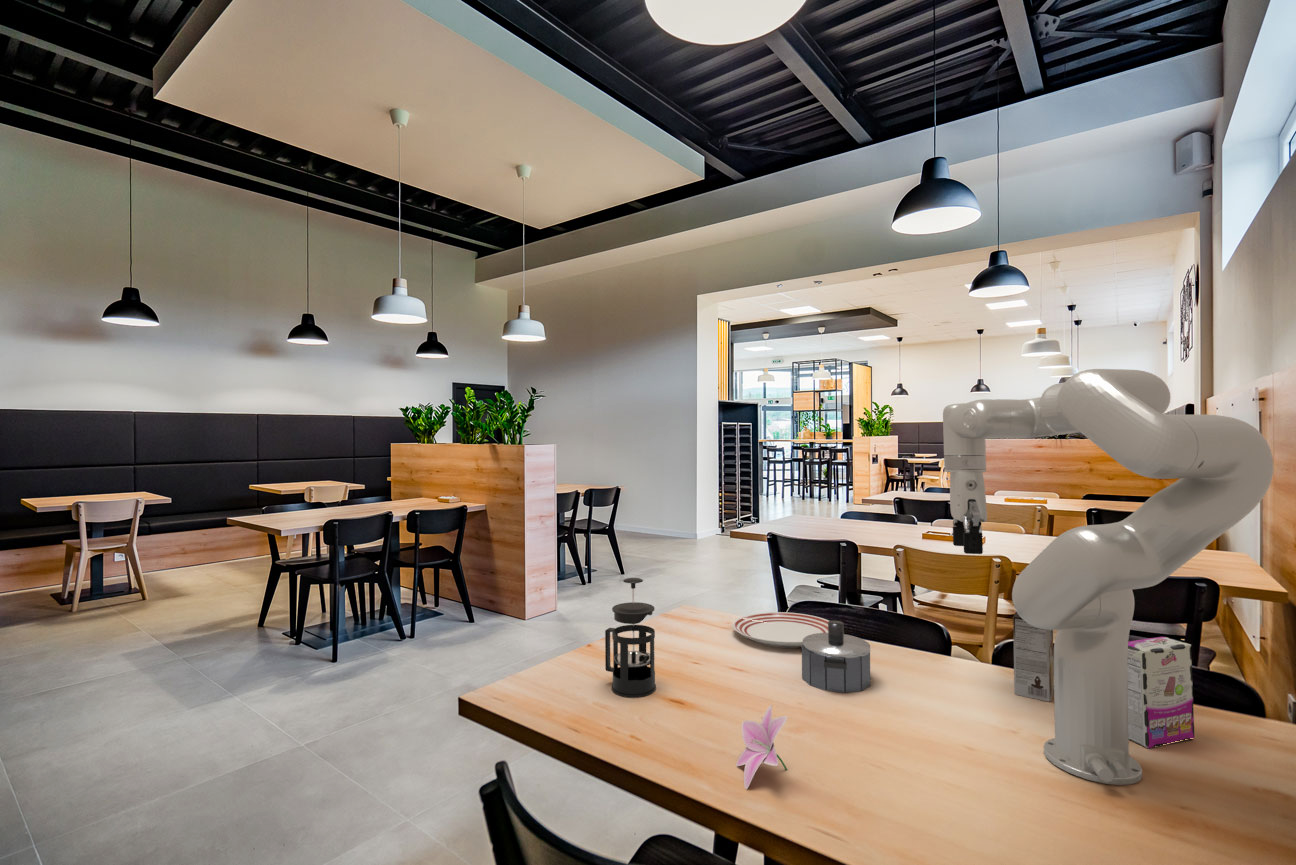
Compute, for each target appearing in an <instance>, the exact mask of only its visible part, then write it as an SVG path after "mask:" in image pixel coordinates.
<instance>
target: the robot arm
mask: <svg viewBox="0 0 1296 865" xmlns="http://www.w3.org/2000/svg"><path fill="white" fill-rule="evenodd" d="M1170 403H1171V392H1170V389H1169V387H1168V385H1167V383H1166V382H1165V381H1164V380H1163V379H1162V378H1160V377H1159V376H1157V375H1156V374H1153V373H1152V372H1150V371H1149V372H1147V371H1145V370H1138V369H1121V368H1117V369H1116V368H1115V369H1114V368H1113V369H1111V368H1092V369H1085V370H1082V371H1079V372H1076V373H1075V374H1073V375H1072V376H1070V377H1069V378H1068V379H1067V380H1066V381H1064V382H1059V383H1056V384H1055V383H1054V384H1052V385H1050V386H1048V387H1047V388H1046V389H1045V390H1044V391H1043V393H1042V394H1041V396H1039V397H1034V398H1027V399H1002V398H1001V399H985V398H984V399H975V400H972V401H969V402H964V403H962V402H961V403H954V404H948V405H946V406H944V408H943V411H942V423H943V424H942V426H943V428H942V429H943V430H942V432H943V456H944V457H943V461H944V462H943V464H944V465H943V467H944V469H943V470H944V472H945V473H946V472H947V473H949V502H950V503H949V505H950V506H949V507H950V514H951V517H952V518H953V520H952V544H953V546H955V547H963V553H964V554H967V555H968V554H969V555H982V554H983V552H984V549H983V548H984V546H983V528H982V523H985V522H987V521H988V512H987V497H986V487H985V478H984V474H983V473H985V472H987V455H986V454H987V451H986V449H987V448H986V440H997V439H998V440H999V439H1002V440H1003V439H1004V440H1005V439H1008V440H1009V439H1017V440H1018V439H1020V440H1021V439H1033V438H1041V437H1043V438H1044V437H1050V436H1058V435H1059V436H1060V435H1062V436H1063V435H1068V434H1076V433H1080V434H1082V435H1083V436H1085V438H1087V439H1088V440H1089V441H1091V442H1092V443H1093V444H1095V445H1096V446H1097V447H1098V448H1099V449H1101V450H1102V451H1103V452H1105V453H1106V454H1107V455H1108V456H1109V457H1110V458H1112V459H1113V460H1114V461H1116V462H1117V463H1118V464H1120V465H1121V466H1122V467H1124V468H1125V469H1127V470H1128V471H1130V472H1132V473H1134V474H1136V475H1138V476H1142V477H1146V478H1149V479H1158V480H1167V479H1169V480H1171V479H1172V480H1173V479H1178V480H1176V481H1175V482H1173V483H1171V484H1169V485H1168V486H1167V487H1166V486H1165V488H1162V489H1160V490H1159V491H1158V492H1156V493H1154V494H1153V495H1152V496H1150V497H1149V498H1148V499H1147V500H1145V501H1144V503H1143V504H1142V505H1140V506H1139V507H1138V508H1137V509H1136V510H1135V511H1134V512H1132V513H1131V514H1130V515H1128V516H1127V517H1126V518H1124V519H1123V520H1120V521H1118V522H1117V521H1116V522H1112V523H1104V524H1090V525H1089V524H1087V525H1081V526H1077V527H1073V528H1070V529H1068V530H1066V531H1065V532H1063V533H1060V535H1058V536H1057V537H1055V539H1053V540H1052V541H1051V542H1050V543H1049V544H1048V545H1047V546H1046V547H1045V548H1044V549H1043V550H1042V551H1041V552H1040V553H1038V555H1037V556H1036V557H1035V558H1034V559H1033V560H1031V561H1030V562H1029V563H1028V565H1026V567H1025V568H1024V569H1023V570H1021V572H1020V573H1019V574H1018V576H1017V577H1016V579H1015V581H1014V584H1013V587H1012V592H1011V599H1012V604H1013V607H1014V609H1015V612H1016V611H1017V613H1018V614H1019V616H1020V617H1021V618H1022V619H1023V620H1024V621H1026V622H1027V623H1028V624H1030V625H1032V626H1034V627H1036V628H1040V629H1044V630H1053V631H1056V636H1055V639H1054V642H1053V659H1054V689H1053V693H1054V694H1053V695H1054V697H1053V698H1054V701H1053V702H1054V705H1053V707H1054V737H1053V738H1050V739H1048V740H1046V741H1045V742H1044V743H1043V754H1044V755H1045V757H1046V759H1048V761H1049V762H1050V763H1051V764H1053V766H1056V767H1058V768H1059V769H1061V770H1063V771H1065V772H1066V773H1069V774H1071V775H1074V776H1076V777H1078V778H1079V777H1080V778H1082V779H1085V780H1087V781H1092V782H1095V783H1100V784H1105V785H1113V786H1114V785H1116V786H1124V785H1132V784H1137V783H1138V782H1140V781H1141V780H1142V778H1143V769H1142V768H1143V767H1142V766H1141V765H1140V763H1139V762H1138V761H1137V760H1136V759H1134V757H1132V756H1130V752H1129V750H1130V747H1129V746H1130V745H1129V744H1130V743H1129V741H1130V740H1129V738H1128V680H1127V673H1128V642H1129V639H1130V638H1129V637H1130V633H1131V632H1130V631H1131V626H1132V621H1133V617H1134V613H1135V612H1134V611H1135V596H1134V592H1133V590H1139V589H1145V588H1150V587H1154V586H1156V585H1158V584H1160V583H1162V582H1163V581H1165V580H1166V579H1167V578H1168V577H1170V575H1173V573H1175V572H1176V571H1177V570H1179V568H1181V567H1182V566H1183V565H1185V564H1186V563H1187V562H1189V561H1190V560H1191V559H1193V558H1194V557H1196V556H1197V555H1198V554H1199V553H1201V552H1202V551H1203V550H1205V548H1207V547H1208V546H1209V545H1210V544H1211V543H1212V542H1214V541H1215V540H1216V539H1218V538H1219V537H1220V536H1222V535H1224V534H1225V533H1226V532H1227V531H1229V530H1230V529H1232V528H1233V527H1234V526H1236V524H1239V522H1240V521H1242V520H1243V519H1244V518H1246V517H1247V516H1248V515H1249V514H1250V513H1251V512H1252V511H1253V510H1254V509H1255V508H1256V507H1257V506H1258V504H1260V502H1261V501H1262V500H1263V498H1264V497H1265V495H1266V494H1267V492H1268V490H1269V488H1270V485H1271V482H1272V479H1273V476H1274V475H1273V474H1274V460H1273V459H1274V458H1273V453H1272V450H1271V447H1270V445H1269V443H1268V441H1267V440H1266V438H1265V437H1264V435H1263V434H1262V432H1260V431H1259V430H1258V429H1257V428H1256V427H1254V426H1253V425H1251V424H1249V423H1248V422H1246V421H1244V420H1240V419H1238V418H1234V417H1231V416H1225V415H1219V414H1218V415H1217V414H1165V413H1166V411H1167V410H1168V408H1169V406H1170Z"/></svg>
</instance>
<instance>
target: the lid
mask: <svg viewBox="0 0 1296 865" xmlns="http://www.w3.org/2000/svg"><path fill="white" fill-rule="evenodd" d="M844 628H845V627H844V622H843V621H841V620H829V622H828V633H816V634H811V635H808V636H806V637H804V639H803V647H804V648H805V649H806V650H808V651H810V652H812V653H815V654H818V655H821V656H826V657H832V658H845V659H847V658H859V657H863V656H866V655H867V654H869V653H870V654H871V644H870V643H869V642H868V641H866V640H865V639H863V638H861V637H857V636H853V635H850V634H845V632H844V630H845V629H844Z"/></svg>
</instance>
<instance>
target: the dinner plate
mask: <svg viewBox="0 0 1296 865" xmlns="http://www.w3.org/2000/svg"><path fill="white" fill-rule="evenodd" d="M743 618H746V619H743ZM747 619H752V620H758V621H763V622H756V621H752V620H747ZM829 621H830V620H829V619H825V618H823V617H819V616H815V615H810V614H805V613H799V612H798V613H796V612H787V611H786V612H785V611H784V612H783V611H782V612H781V611H776V612H775V611H773V612H758V613H751V614H747V615H744V616H740V617H739V618H737V619H735V620H734V621H733V622H732V626H731V627H732V629H733V630H734V631H735V632H737V633H738V634H739V635H741V636H742V637H745V638H746V639H749V640H751V641H754V642H757V643H759V644H762V645H766V646H769V647H777V648H783V649H784V648H791V649H794V648H802V642H803V639H804V637H806V636H808V635H811V634H816V633H828V622H829ZM764 622H767V623H764ZM769 623H775V624H769Z"/></svg>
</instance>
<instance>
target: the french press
mask: <svg viewBox="0 0 1296 865" xmlns="http://www.w3.org/2000/svg"><path fill="white" fill-rule="evenodd" d="M643 581H644V579H642V578H640V577H628V578H624V579H623V581H622V582H623V583H626V584H630V589H632V590H631V591H632V592H631V593H632V602H624V603H618V604H615V605H614V606H612V608H611V609H612V610H611V611H612V613H614V614H613V615H614V620H615V622H618V623H622V624H625V625H619V626H617V627H608V628H607V629H605V630H604V635H605V637H604V639H605V640H604V643H605V646H604V648H605V650H604V652H605V653H604V656H605V657H604V658H605V659H604V660H605V662H604V664H605V671H606V672H609V673H610V672H611V673H612V685H611V691H612V692H613V693H614V694H615V695H617V696H619V697H624V698H632V699H633V698H635V699H637V698H644V697H648V696H650V695H652V694H654V693H655V692H656V690H657V684H656V671H655V637H656V634H655V633H656V631H655V629H654V628H653V627H651V626H649V625H644V624H640V623H641V622H642V621H644V620H645V619H646V617H647V616H652V615H653V612H655V606H654V605H652V604H649V603H646V602H637V601H635V589H636V584H640V583H642V582H643ZM626 632H632V637H624V636H620V635H619V634H621V633H626ZM635 632H638V637H635ZM647 633H648V634H649V635H647ZM611 634H612V635H611ZM611 636H612V642H613V643H612V644H613V645H612V648H613V649H612V651H613V652H612V654H613V657H612V658H613V665H612V666H611ZM647 643H648V644H649V652H647ZM630 645H631V646H632V650H629V646H630ZM635 645H638V650H635ZM618 646H619V647H618ZM619 649H620V650H619ZM619 652H620V653H619ZM649 665H650V666H649Z"/></svg>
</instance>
